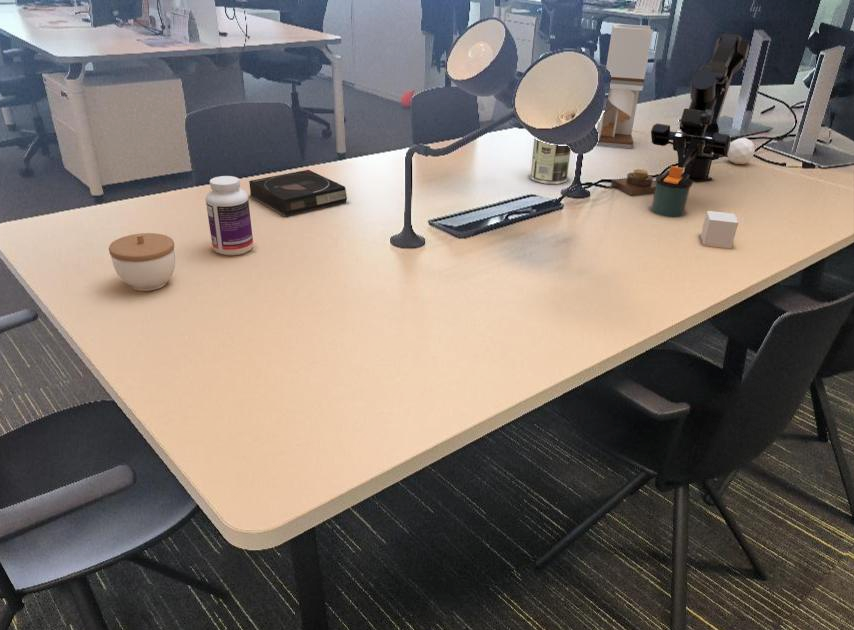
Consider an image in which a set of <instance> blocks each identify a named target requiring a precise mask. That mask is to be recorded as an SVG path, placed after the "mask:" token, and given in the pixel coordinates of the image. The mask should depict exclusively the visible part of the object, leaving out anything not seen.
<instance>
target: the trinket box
mask: <svg viewBox="0 0 854 630" xmlns="http://www.w3.org/2000/svg"><path fill="white" fill-rule="evenodd" d="M108 251H109V255H110V258H111V262H112V265H113V268H114V270H115V273H116V274H117V276H118V277H119V279H121V281H123V283H125V284H127V285H128V286H130V287H131V288H132V290H136V291H139V292H149V291H155V290H158V289H161V288H163V287H165V286H166V285H167V283H168V281H169V280H170V279H171V278H172V276H173V274H174V272H175V269H176V251H175V241H174V240H173V238H171V237H170V236H168V235H167V234H161V233H154V232H146V233H145V232H143V233H133V234H129V235H125V236H121V237H120V238H117V239H115V240H113V241H112V242H111V243H110V244H109V245H108Z"/></svg>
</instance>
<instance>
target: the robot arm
mask: <svg viewBox="0 0 854 630" xmlns="http://www.w3.org/2000/svg"><path fill="white" fill-rule="evenodd" d="M749 52H750V42H748V41H747V40H745V39H743V38H742V36H740V35H738V34H729V33H724V34H721V35H720V37H719V38H717V39H716V42H715V46H714V49H713V56H712V58H711V59H710V62H708V63H705V64H703V65H702V66H701V68H700V69H699V70H697V71H695V72H694V73H693V74H692V75H691V77H690V100H691V101H690V104H689V107H688V108H683V111H682V115H681V118H680V124H679V130H675V131H671V125H669V124H664V123H655V124H654V125H652V128H651V131H650V136H651V138H650V139H651V144H653V145H656V146H662V147H665V146H668V145H669V142H670V141H672V150H673V151H675V152H676V154H677V167H680V168H683V172H682V175H681V176H683V177H685V176H686V175H687V174H689V178H688V179H690V180H692V182H697V183H698V182H704V181H712V180H713V177H711V176H710V171H711V167H712V163H713V161H716V160H717V161H718V160H719V158H720V156H721V157H726V156H728V155H727V154H728V151H729V148H730V144H731V138H732V137H731V135H730V134H728V133H722V132H720V128H719V124H718V122H719V119H720V116H721V112H722V110H723V106H724V103H725V101H726V98H727V94H728V91H729V88H730V85H731V82H732V78H733V76H734V75H735V74H736V73H738V72H739V71H740V70H741V69H742V67H743V64H744V61H746V60H747V58H748V55H749Z"/></svg>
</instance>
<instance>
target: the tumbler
mask: <svg viewBox="0 0 854 630" xmlns="http://www.w3.org/2000/svg"><path fill="white" fill-rule="evenodd" d="M669 172H670V170H667V171H666V172H665V173H664V174H659V175H657V176H656V177H655V181H656V182H657V183H656V188H655V192H654V193H653V198H652V202H651V207H650V210H651V211H652V213H654V214H656V215H659V216H663V217H668V218H669V217H670V218H671V217H672V218H675V217H682V216H684V215H685V211H686V208H687V203H688V198H689V194H690V189H691V187H692V186H693V181H692V180H690V179H688V178H689V174H687V175H686V176H685V177H683V176H681V178H682V180H681V181H680V182H679V183H678V184H673V183H668V182H663V180H664V179H665V178H666V177H667V176H669Z"/></svg>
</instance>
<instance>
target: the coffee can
mask: <svg viewBox="0 0 854 630" xmlns="http://www.w3.org/2000/svg"><path fill="white" fill-rule="evenodd" d="M570 157H571V150H570V148H569V147H568V146H558V145H550V144H547V143H543V142H541V141H538V140H536V139H535V138H534V137H533V149H532V157H531V158H532V159H531V167H530V176H529V178H530V179H531V180H532V181H533V182H537V183H541V184H545V185H546V184H547V185H560V184H564V183H566V182H567V181H568V173H569V165H570Z"/></svg>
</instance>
